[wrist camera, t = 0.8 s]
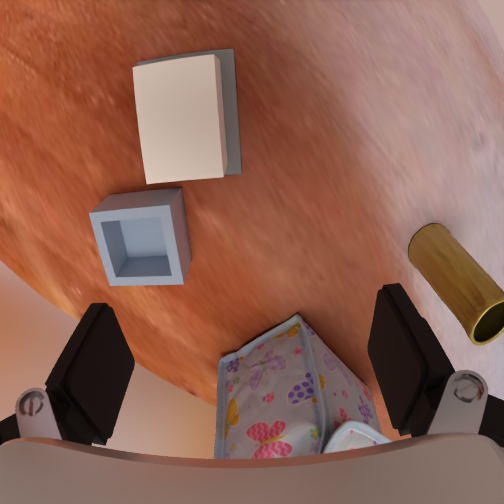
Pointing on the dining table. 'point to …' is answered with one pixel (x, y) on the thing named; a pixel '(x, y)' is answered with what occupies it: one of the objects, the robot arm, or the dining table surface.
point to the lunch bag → (291, 399)
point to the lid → (181, 119)
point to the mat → (228, 102)
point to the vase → (459, 282)
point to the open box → (143, 237)
